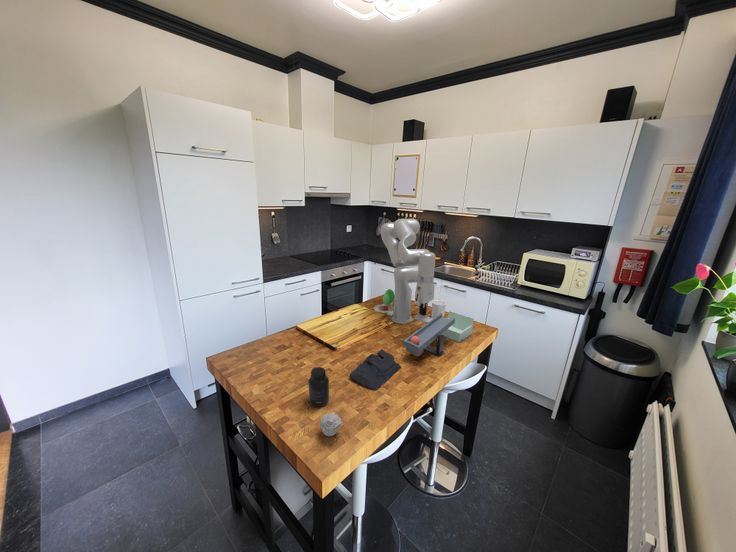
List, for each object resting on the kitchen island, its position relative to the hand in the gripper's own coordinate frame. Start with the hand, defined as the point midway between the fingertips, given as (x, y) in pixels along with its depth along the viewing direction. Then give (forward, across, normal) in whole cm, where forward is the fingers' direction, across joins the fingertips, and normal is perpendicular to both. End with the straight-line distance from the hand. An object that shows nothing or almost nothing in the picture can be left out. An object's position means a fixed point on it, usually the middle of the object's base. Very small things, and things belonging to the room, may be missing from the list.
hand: (422, 314), depth 140 cm
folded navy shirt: (+14, -36, -3) cm, 39 cm away
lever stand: (+13, -6, -9) cm, 17 cm away
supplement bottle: (+13, -63, -2) cm, 65 cm away
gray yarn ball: (+14, -69, -15) cm, 72 cm away
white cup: (+13, +28, +7) cm, 31 cm away
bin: (+13, +17, -9) cm, 23 cm away
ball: (+4, -18, -9) cm, 21 cm away
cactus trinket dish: (+13, +16, +38) cm, 43 cm away
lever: (+7, -5, -5) cm, 10 cm away
